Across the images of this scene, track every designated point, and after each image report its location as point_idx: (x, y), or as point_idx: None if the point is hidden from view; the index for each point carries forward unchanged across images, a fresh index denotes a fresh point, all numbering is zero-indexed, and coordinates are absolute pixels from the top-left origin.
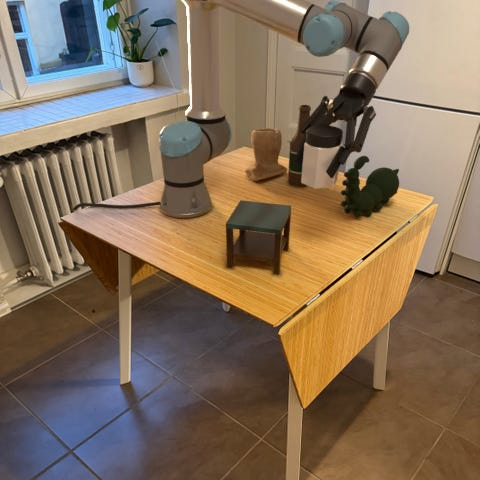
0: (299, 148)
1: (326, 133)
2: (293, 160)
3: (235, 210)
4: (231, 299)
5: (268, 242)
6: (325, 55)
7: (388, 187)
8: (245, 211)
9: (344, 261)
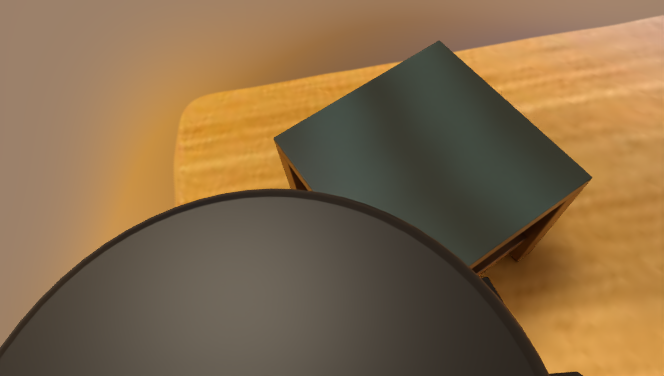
0: (557, 373)
1: (130, 369)
2: (481, 278)
3: (510, 110)
4: (306, 79)
5: None
6: None
7: None
8: (479, 131)
9: None
